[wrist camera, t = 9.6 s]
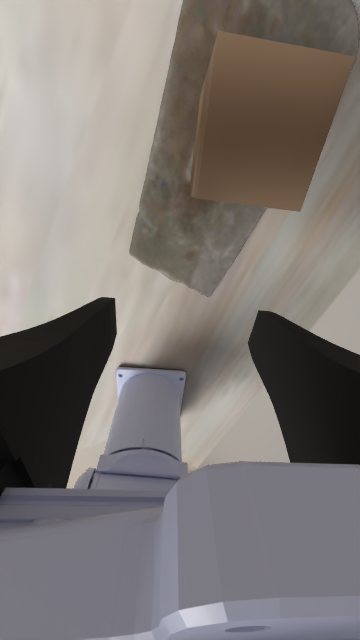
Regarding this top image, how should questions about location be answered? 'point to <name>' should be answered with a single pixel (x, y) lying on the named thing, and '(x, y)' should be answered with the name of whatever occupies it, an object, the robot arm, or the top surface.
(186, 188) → the stone
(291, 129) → the walnut block
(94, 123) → the top surface
